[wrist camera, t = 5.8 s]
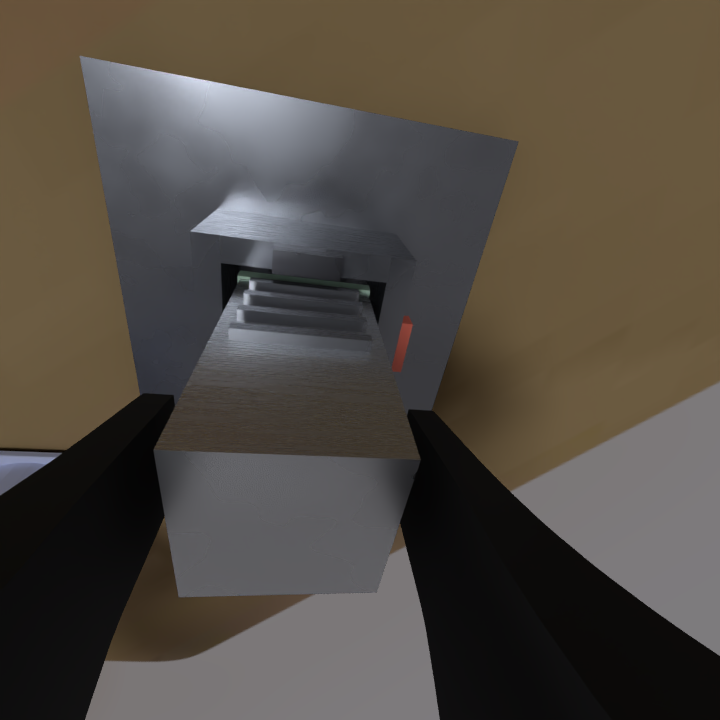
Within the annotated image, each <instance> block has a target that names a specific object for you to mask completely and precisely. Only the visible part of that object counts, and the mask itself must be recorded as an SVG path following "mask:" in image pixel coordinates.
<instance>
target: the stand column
mask: <svg viewBox="0 0 720 720" xmlns="http://www.w3.org/2000/svg"><path fill="white" fill-rule="evenodd" d="M237 280H238V284H237V286H236V288H235V290H234V292H233V294H232V296H231V298H230V300H229V302H228V303H227V305H226V307H225V309H224V311H223V313H222V315H221V317H220V319H219V321H218V323H217V325H216V327H215V329H214V331H213V333H212V335H211V337H210V339H209V341H208V343H207V345H206V347H205V349H204V351H203V353H202V355H201V357H200V359H199V361H198V363H197V365H196V367H195V369H194V371H193V373H192V375H191V377H190V378H189V380H188V382H187V384H186V386H185V388H184V390H183V392H182V394H181V396H180V398H179V400H178V402H177V404H176V406H175V408H174V410H173V412H172V414H171V416H170V418H169V420H168V422H167V424H166V426H165V428H164V430H163V432H162V434H161V436H160V438H159V440H158V442H157V444H156V446H155V448H154V450H153V451H154V457H155V463H156V468H157V474H158V480H159V486H160V491H161V497H162V503H163V509H164V515H165V520H166V526H167V532H168V538H169V544H170V549H171V555H172V561H173V567H174V573H175V578H176V584H177V590H178V596H179V597H209V596H250V595H290V594H331V593H371V592H377V589H378V586H379V584H380V581H381V578H382V575H383V571H384V568H385V566H386V562H387V560H388V557H389V554H390V551H391V548H392V545H393V542H394V539H395V536H396V533H397V530H398V527H399V524H400V521H401V518H402V515H403V512H404V509H405V506H406V503H407V500H408V497H409V494H410V491H411V488H412V485H413V482H414V479H415V476H416V473H417V470H418V467H419V464H420V461H421V459H420V456H419V453H418V449H417V446H416V443H415V440H414V437H413V434H412V431H411V428H410V424H409V421H408V418H407V415H406V412H405V409H404V406H403V402H402V399H401V396H400V393H399V390H398V387H397V384H396V381H395V377H394V374H393V371H392V368H391V365H390V362H389V359H388V355H387V352H386V349H385V346H384V343H383V340H382V337H381V333H380V330H379V327H378V324H377V321H376V318H375V315H374V312H373V308H372V305H371V302H370V299H369V295H370V288H369V285H363V284H354V283H346V282H337V281H329V280H320V279H311V278H303V277H294V276H286V275H277V274H268V273H260V272H251V271H241V270H240V272H239V274H238V276H237Z"/></svg>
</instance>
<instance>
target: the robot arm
mask: <svg viewBox="0 0 720 720" xmlns="http://www.w3.org/2000/svg"><path fill="white" fill-rule="evenodd" d="M174 408H175V402H174V395H167V394H150V393H143V394H142V395H140V396H139V397H138V398H136V399H135V400H133V401H132V402H131V403H129V404H128V405H127V406H125V407H124V408H123V409H121V410H120V411H119V412H117V413H116V414H115V415H113V416H112V417H111V418H109V419H108V420H107V421H105V422H104V423H103V424H101V425H100V426H99V427H97V428H96V429H95V430H93V431H92V432H91V433H89V434H88V435H87V436H85V437H84V438H82V439H81V440H80V441H78V442H77V443H76V444H74V445H73V446H71V447H70V448H69V449H67V450H66V451H65V452H63V453H51V452H22V451H0V720H85V718H86V714H87V711H88V708H89V705H90V702H91V699H92V696H93V693H94V690H95V687H96V684H97V681H98V679H99V676H100V673H101V670H102V667H103V664H104V661H105V658H106V655H107V652H108V649H109V646H110V643H111V640H112V638H113V635H114V633H115V630H116V628H117V625H118V623H119V620H120V617H121V615H122V613H123V610H124V608H125V606H126V603H127V601H128V599H129V596H130V594H131V592H132V590H133V587H134V585H135V583H136V580H137V578H138V576H139V574H140V571H141V569H142V567H143V564H144V562H145V560H146V558H147V555H148V553H149V551H150V548H151V546H152V544H153V542H154V539H155V537H156V535H157V532H158V530H159V528H160V525H161V523H162V521H163V518H164V516H165V515H164V509H163V503H162V497H161V491H160V486H159V480H158V474H157V468H156V463H155V457H154V451H153V450H154V448H155V446H156V444H157V442H158V440H159V438H160V436H161V434H162V432H163V430H164V428H165V426H166V424H167V422H168V420H169V418H170V416H171V414H172V412H173V410H174ZM407 418H408V421H409V424H410V428H411V431H412V434H413V437H414V440H415V443H416V446H417V449H418V453H419V456H420V459H421V461H420V464H419V467H418V470H417V473H416V476H415V479H414V482H413V485H412V488H411V491H410V494H409V497H408V500H407V503H406V506H405V509H404V512H403V515H402V518H401V521H400V524H401V528H402V532H403V536H404V540H405V544H406V548H407V552H408V556H409V560H410V564H411V567H412V572H413V575H414V579H415V584H416V588H417V591H418V595H419V599H420V603H421V608H422V612H423V617H424V622H425V627H426V632H427V638H428V645H429V651H430V657H431V663H432V670H433V676H434V682H435V689H436V695H437V703H438V710H439V716H440V720H720V656H719V655H717V654H716V653H714V652H713V651H711V650H710V649H709V648H707V647H706V646H704V645H703V644H701V643H700V642H698V641H697V640H695V639H694V638H692V637H691V636H689V635H688V634H686V633H685V632H683V631H682V630H680V629H679V628H678V627H676V626H675V625H673V624H672V623H670V622H669V621H668V620H666V619H665V618H663V617H662V616H661V615H659V614H658V613H656V612H655V611H654V610H652V609H651V608H650V607H648V606H647V605H645V604H644V603H643V602H641V601H640V600H639V599H637V598H636V597H635V596H633V595H632V594H631V593H629V592H628V591H627V590H625V589H624V588H623V587H621V586H620V585H619V584H617V583H616V582H615V581H613V580H612V579H611V578H609V577H608V576H607V575H606V574H604V573H603V572H602V571H600V570H599V569H598V568H596V567H595V566H594V565H593V564H591V563H590V562H589V561H588V560H586V559H585V558H584V557H583V556H582V555H581V554H579V553H578V552H577V551H576V550H575V549H573V548H572V547H571V546H570V545H569V544H567V543H566V542H565V541H564V540H562V539H561V538H560V537H559V536H558V535H556V534H555V533H554V532H553V531H552V530H551V529H550V528H548V527H547V526H546V525H545V524H544V523H543V522H542V521H541V520H540V519H538V518H537V517H536V516H535V515H534V514H533V513H532V512H531V511H530V510H529V509H528V508H527V507H526V506H525V505H523V504H522V503H521V502H520V501H519V500H518V499H517V498H516V497H515V496H514V495H513V494H512V493H511V492H510V491H509V490H508V489H507V488H506V487H505V486H504V485H503V484H502V483H501V482H500V481H499V480H498V479H497V478H496V477H495V476H494V475H493V474H492V473H491V472H490V471H489V470H488V469H487V468H486V467H485V466H484V465H483V464H482V463H481V462H480V461H479V460H478V459H477V458H476V456H475V455H474V454H473V453H472V452H471V451H470V450H469V449H468V448H467V447H466V446H465V445H464V444H463V443H462V441H461V440H460V439H459V438H458V437H457V436H456V435H455V434H454V433H453V432H452V431H451V429H450V428H449V427H448V426H447V425H446V424H445V423H444V422H443V421H442V420H441V419H440V418H439V417H438V415H437V414H436V413H435V412H434V411H431V410H414V409H409V410H408V414H407Z"/></svg>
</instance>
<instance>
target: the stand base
mask: <svg viewBox="0 0 720 720" xmlns="http://www.w3.org/2000/svg"><path fill="white" fill-rule="evenodd" d="M80 60H81V65H82V71H83V77H84V82H85V88H86V93H87V99H88V105H89V110H90V116H91V121H92V127H93V133H94V138H95V144H96V149H97V155H98V161H99V166H100V172H101V177H102V183H103V189H104V194H105V200H106V205H107V211H108V217H109V222H110V228H111V233H112V239H113V245H114V250H115V256H116V261H117V267H118V273H119V278H120V284H121V289H122V295H123V301H124V306H125V312H126V317H127V323H128V329H129V334H130V340H131V345H132V351H133V357H134V362H135V368H136V373H137V379H138V385H139V390H140V395H142V394H143V393H150V394H167V395H174V402H175V406H176V404H177V402H178V400H179V398H180V396H181V394H182V392H183V390H184V388H185V386H186V384H187V382H188V380H189V378H190V377H191V375H192V373H193V371H194V369H195V367H196V365H197V363H198V361H199V359H200V357H201V355H202V353H203V351H204V349H205V347H206V345H207V343H208V341H209V339H210V337H211V335H212V333H213V331H214V329H215V327H216V325H217V323H218V321H219V319H220V317H221V315H222V313H223V311H224V309H225V307H226V305H227V303H228V302H229V300H230V298H231V296H232V294H233V292H234V290H235V288H236V286H237V284H238V280H237V276H238V274H239V272H240V270H241V271H251V272H260V273H268V274H277V275H286V276H294V277H303V278H311V279H320V280H329V281H337V282H346V283H354V284H363V285H369V288H370V295H369V299H370V302H371V305H372V308H373V312H374V315H375V318H376V321H377V324H378V327H379V330H380V333H381V337H382V340H383V343H384V346H385V349H386V352H387V355H388V359H389V362H390V365H391V368H392V371H393V374H394V377H395V381H396V384H397V387H398V390H399V393H400V396H401V399H402V402H403V406H404V409H405V412H406V415H407V414H408V410H409V409H414V410H431V411H432V408H433V404H434V401H435V398H436V395H437V392H438V389H439V386H440V383H441V380H442V377H443V374H444V370H445V367H446V364H447V361H448V358H449V355H450V352H451V349H452V346H453V343H454V340H455V336H456V333H457V330H458V327H459V324H460V321H461V318H462V315H463V312H464V309H465V306H466V302H467V299H468V296H469V293H470V290H471V287H472V284H473V281H474V278H475V275H476V272H477V268H478V265H479V262H480V259H481V256H482V253H483V250H484V247H485V244H486V241H487V238H488V234H489V231H490V228H491V225H492V222H493V219H494V216H495V213H496V210H497V207H498V204H499V201H500V197H501V194H502V191H503V188H504V185H505V182H506V179H507V176H508V173H509V170H510V167H511V163H512V160H513V157H514V154H515V151H516V148H517V145H518V141H513V140H508V139H502V138H497V137H492V136H487V135H482V134H477V133H472V132H467V131H462V130H456V129H451V128H446V127H441V126H436V125H431V124H426V123H421V122H415V121H410V120H405V119H400V118H395V117H390V116H385V115H380V114H375V113H369V112H364V111H359V110H354V109H349V108H344V107H339V106H334V105H328V104H323V103H318V102H313V101H308V100H303V99H298V98H293V97H288V96H282V95H277V94H272V93H267V92H262V91H257V90H252V89H247V88H241V87H236V86H231V85H226V84H221V83H216V82H211V81H206V80H201V79H195V78H190V77H185V76H180V75H175V74H170V73H165V72H160V71H155V70H149V69H144V68H139V67H134V66H129V65H124V64H119V63H114V62H108V61H103V60H98V59H93V58H88V57H83V56H80Z"/></svg>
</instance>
